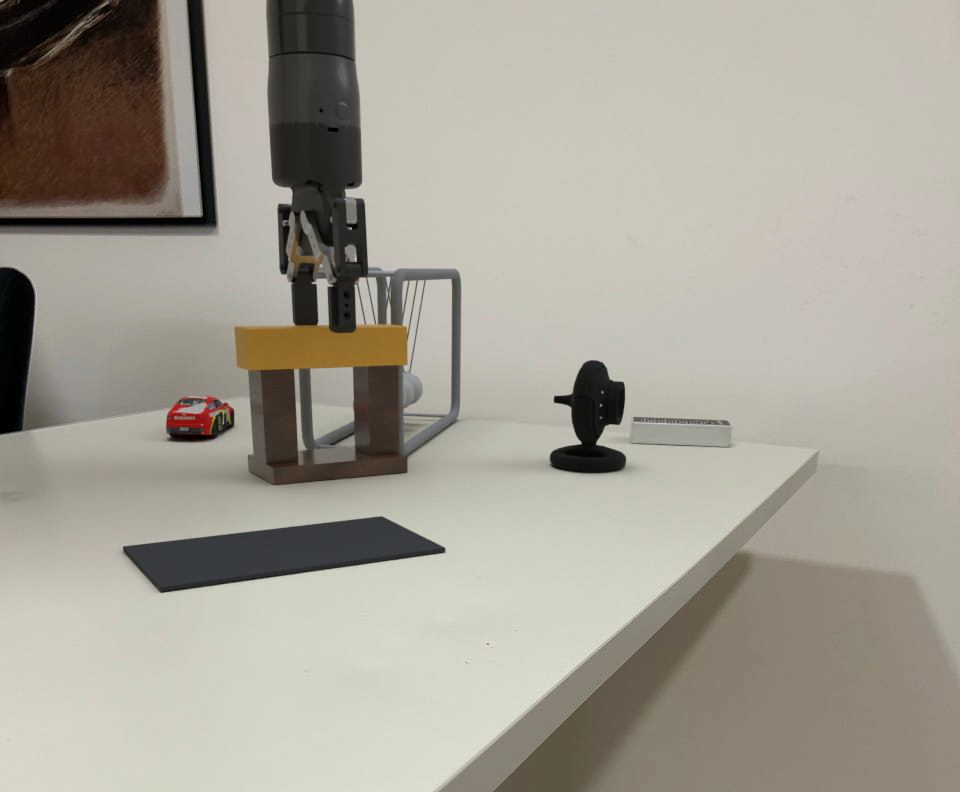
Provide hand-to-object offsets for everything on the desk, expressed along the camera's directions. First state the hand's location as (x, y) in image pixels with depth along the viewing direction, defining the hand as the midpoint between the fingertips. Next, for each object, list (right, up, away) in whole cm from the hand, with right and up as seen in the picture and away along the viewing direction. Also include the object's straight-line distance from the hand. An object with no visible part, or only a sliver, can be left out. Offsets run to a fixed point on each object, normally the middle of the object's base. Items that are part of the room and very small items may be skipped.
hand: (323, 329), depth 87 cm
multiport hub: (+36, -5, +24) cm, 44 cm away
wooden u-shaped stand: (0, -12, +5) cm, 13 cm away
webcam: (+24, -11, +10) cm, 28 cm away
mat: (+1, -22, -21) cm, 30 cm away
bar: (0, -3, +1) cm, 3 cm away
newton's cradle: (+4, -4, +25) cm, 25 cm away
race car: (-18, -4, +24) cm, 30 cm away
